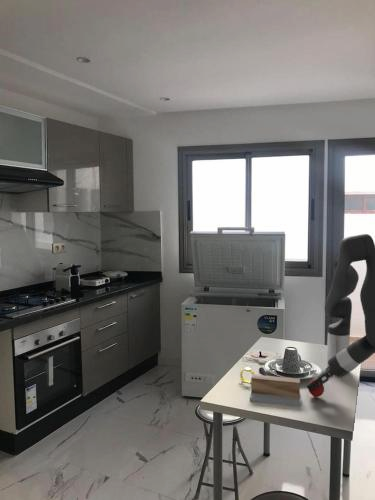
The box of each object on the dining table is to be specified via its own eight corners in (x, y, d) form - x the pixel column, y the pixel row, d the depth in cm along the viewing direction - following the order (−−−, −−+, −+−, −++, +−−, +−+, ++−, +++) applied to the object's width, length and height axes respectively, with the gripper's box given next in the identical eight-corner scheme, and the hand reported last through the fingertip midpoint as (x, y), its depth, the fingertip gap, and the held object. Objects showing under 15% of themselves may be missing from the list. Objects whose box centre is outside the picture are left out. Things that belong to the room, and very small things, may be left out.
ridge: (252, 389, 168) (252, 374, 167) (299, 394, 163) (299, 378, 163) (251, 392, 165) (251, 377, 164) (299, 398, 160) (299, 382, 159)
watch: (255, 382, 178) (256, 369, 177) (252, 385, 175) (253, 371, 174) (241, 379, 181) (242, 365, 180) (239, 381, 178) (240, 367, 177)
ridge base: (253, 387, 172) (253, 384, 172) (299, 392, 168) (299, 389, 167) (249, 400, 161) (249, 397, 161) (299, 406, 156) (299, 403, 156)
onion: (325, 396, 164) (325, 376, 163) (321, 402, 159) (322, 381, 158) (310, 393, 167) (310, 373, 166) (306, 398, 162) (306, 378, 161)
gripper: (342, 348, 163) (311, 371, 171) (331, 359, 151) (298, 383, 159) (356, 364, 160) (324, 387, 168) (346, 377, 149) (311, 401, 157)
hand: (311, 385), depth 164 cm, fingers closed on onion, 5 cm apart
